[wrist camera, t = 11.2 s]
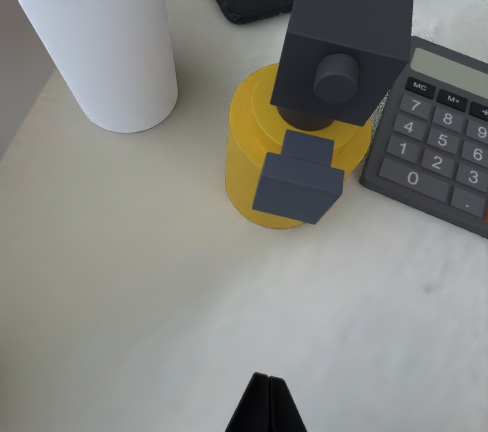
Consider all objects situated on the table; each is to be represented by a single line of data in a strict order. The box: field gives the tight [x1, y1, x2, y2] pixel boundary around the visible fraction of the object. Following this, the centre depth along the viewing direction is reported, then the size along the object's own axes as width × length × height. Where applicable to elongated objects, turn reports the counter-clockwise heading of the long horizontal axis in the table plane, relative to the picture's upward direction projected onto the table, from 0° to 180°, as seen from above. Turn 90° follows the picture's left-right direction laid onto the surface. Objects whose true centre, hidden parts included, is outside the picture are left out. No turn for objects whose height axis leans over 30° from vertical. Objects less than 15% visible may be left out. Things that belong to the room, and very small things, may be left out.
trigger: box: [252, 129, 345, 224], centre depth 13 cm, size 2×3×3 cm
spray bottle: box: [225, 0, 413, 229], centre depth 16 cm, size 7×7×14 cm
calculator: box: [360, 36, 488, 238], centre depth 25 cm, size 12×1×15 cm
